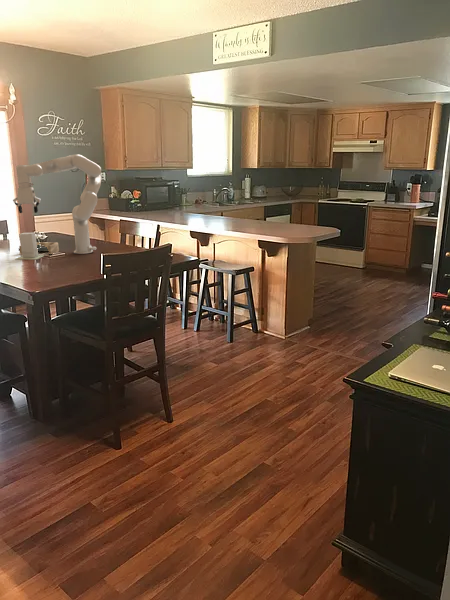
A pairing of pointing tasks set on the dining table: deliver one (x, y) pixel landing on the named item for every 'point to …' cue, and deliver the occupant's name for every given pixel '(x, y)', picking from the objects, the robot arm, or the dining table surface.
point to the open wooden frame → (50, 246)
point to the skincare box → (28, 245)
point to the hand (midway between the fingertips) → (28, 212)
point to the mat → (31, 258)
